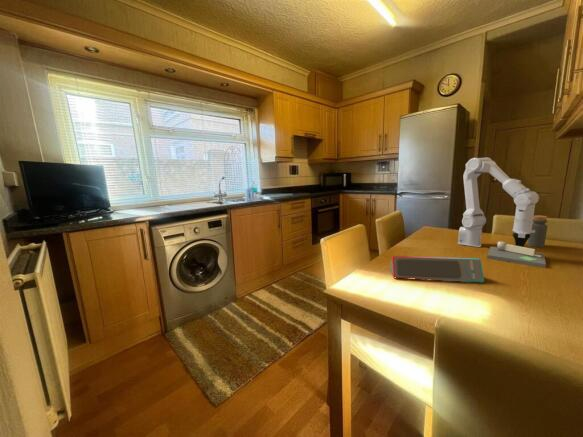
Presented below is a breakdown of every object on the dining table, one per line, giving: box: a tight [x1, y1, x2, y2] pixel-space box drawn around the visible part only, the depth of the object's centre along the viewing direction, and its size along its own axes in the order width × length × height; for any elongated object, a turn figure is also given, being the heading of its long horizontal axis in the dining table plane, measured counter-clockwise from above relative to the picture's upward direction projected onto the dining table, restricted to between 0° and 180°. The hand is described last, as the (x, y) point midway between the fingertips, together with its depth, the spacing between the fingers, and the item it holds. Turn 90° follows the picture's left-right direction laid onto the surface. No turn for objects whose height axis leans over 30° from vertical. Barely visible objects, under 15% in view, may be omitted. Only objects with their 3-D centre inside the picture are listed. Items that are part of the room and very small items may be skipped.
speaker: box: [389, 255, 485, 284], centre depth 92 cm, size 9×10×30 cm
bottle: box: [527, 214, 548, 249], centre depth 118 cm, size 6×6×15 cm
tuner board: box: [486, 246, 547, 269], centre depth 106 cm, size 18×15×2 cm
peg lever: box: [496, 240, 541, 257], centre depth 106 cm, size 15×3×3 cm, turn 32°
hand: (519, 249), depth 107 cm, fingers closed, pressing on peg lever
